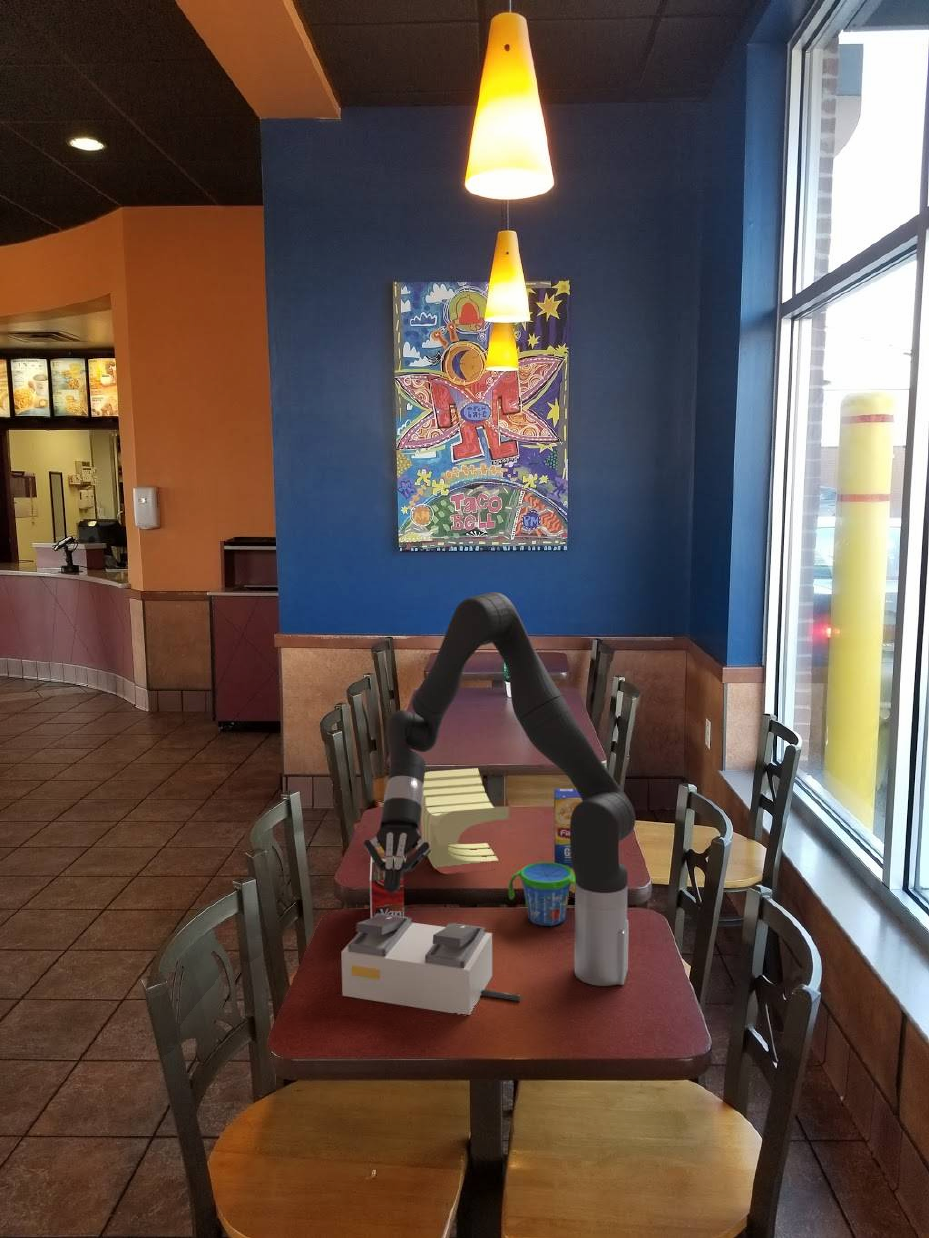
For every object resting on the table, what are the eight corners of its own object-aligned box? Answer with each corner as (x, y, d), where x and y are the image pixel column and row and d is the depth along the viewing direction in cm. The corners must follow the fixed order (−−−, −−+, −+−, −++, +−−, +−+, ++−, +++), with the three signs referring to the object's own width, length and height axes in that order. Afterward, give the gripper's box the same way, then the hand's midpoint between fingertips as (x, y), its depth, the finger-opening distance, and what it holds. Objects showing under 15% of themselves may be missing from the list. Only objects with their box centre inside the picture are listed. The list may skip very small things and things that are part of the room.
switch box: (530, 980, 170) (530, 931, 169) (510, 1023, 157) (510, 970, 156) (373, 957, 179) (372, 911, 178) (341, 996, 166) (340, 946, 164)
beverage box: (606, 899, 204) (607, 799, 201) (554, 898, 205) (554, 798, 202) (603, 886, 211) (605, 789, 208) (553, 884, 212) (554, 788, 209)
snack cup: (500, 922, 194) (500, 874, 192) (521, 902, 203) (521, 856, 202) (573, 938, 187) (574, 888, 185) (591, 916, 196) (592, 868, 195)
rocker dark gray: (403, 926, 174) (404, 918, 174) (381, 935, 164) (382, 926, 164) (379, 923, 176) (380, 914, 176) (355, 931, 165) (356, 922, 165)
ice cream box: (372, 902, 203) (371, 842, 202) (402, 901, 204) (401, 841, 202) (371, 947, 184) (369, 880, 182) (404, 945, 184) (403, 879, 182)
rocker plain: (477, 935, 170) (478, 926, 170) (459, 947, 160) (460, 938, 160) (452, 931, 172) (452, 923, 172) (432, 943, 161) (433, 934, 161)
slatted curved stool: (415, 842, 238) (414, 772, 236) (478, 836, 241) (477, 768, 239) (438, 891, 209) (437, 812, 206) (509, 884, 212) (509, 806, 210)
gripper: (365, 794, 183) (351, 882, 172) (434, 797, 181) (424, 885, 170) (372, 812, 188) (359, 898, 178) (438, 814, 187) (429, 901, 176)
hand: (391, 891), depth 174 cm, fingers closed
